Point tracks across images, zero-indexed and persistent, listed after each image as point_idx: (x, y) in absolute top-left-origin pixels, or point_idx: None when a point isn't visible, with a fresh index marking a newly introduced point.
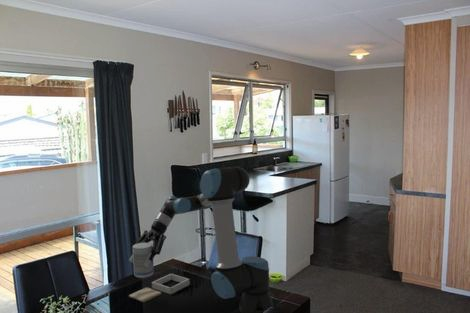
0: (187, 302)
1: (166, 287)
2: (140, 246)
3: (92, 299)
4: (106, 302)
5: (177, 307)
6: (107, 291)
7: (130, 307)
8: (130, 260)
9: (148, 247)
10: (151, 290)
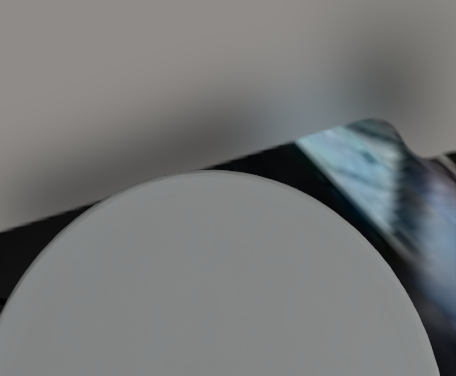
0: (17, 278)
1: None
2: (199, 299)
3: (421, 178)
4: (344, 174)
5: (44, 225)
6: (426, 265)
7: (224, 169)
8: None
9: (3, 312)
10: None
